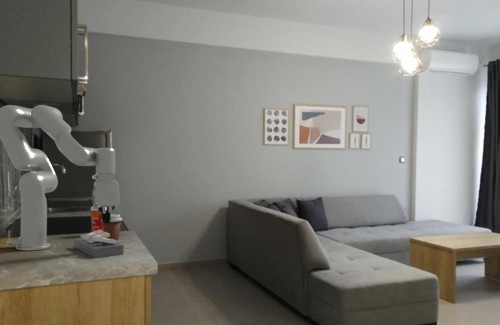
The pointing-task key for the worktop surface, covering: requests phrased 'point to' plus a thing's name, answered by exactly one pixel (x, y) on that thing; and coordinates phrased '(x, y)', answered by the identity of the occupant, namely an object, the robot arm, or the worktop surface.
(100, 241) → the rocker near
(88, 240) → the rocker middle
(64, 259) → the worktop surface
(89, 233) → the plate
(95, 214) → the paper cup
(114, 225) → the coffee cup
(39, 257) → the worktop surface
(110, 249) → the rocker switch panel
